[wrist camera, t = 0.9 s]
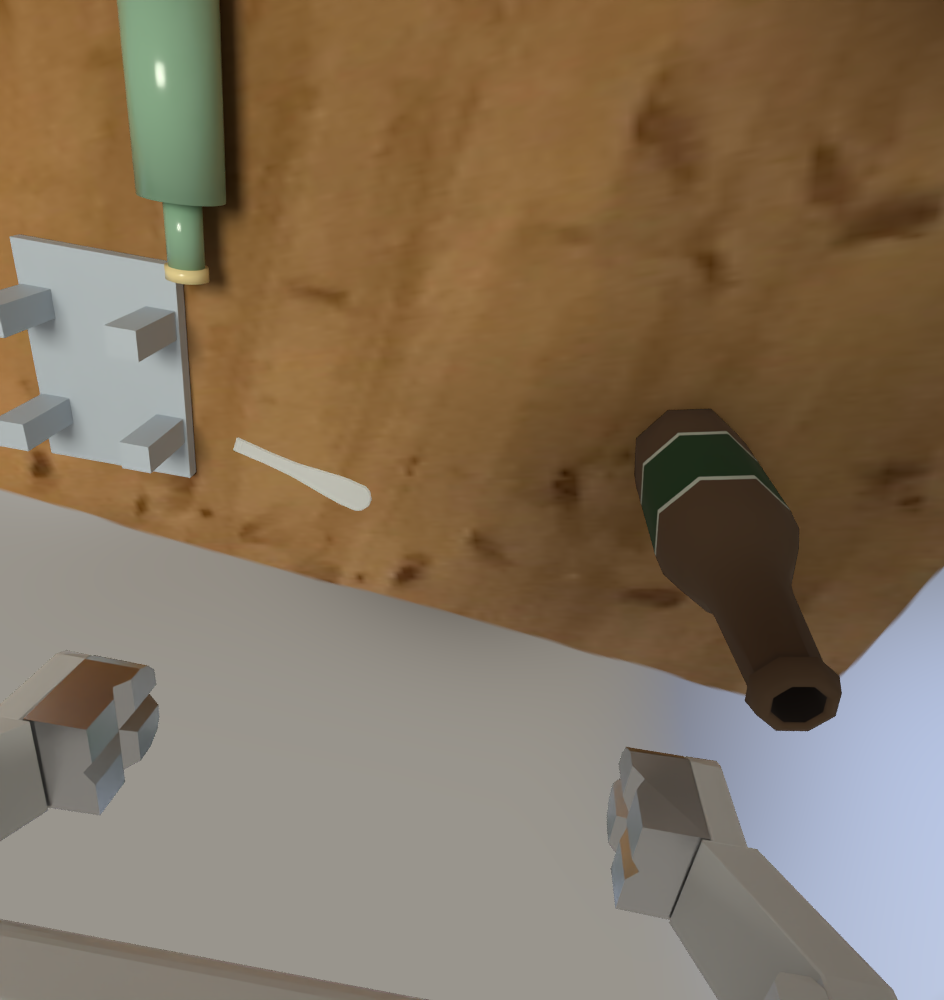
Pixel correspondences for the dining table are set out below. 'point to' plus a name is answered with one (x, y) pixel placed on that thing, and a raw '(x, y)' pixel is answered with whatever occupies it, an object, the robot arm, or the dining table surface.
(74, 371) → the rest
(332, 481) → the butter knife
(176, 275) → the bottle
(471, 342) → the dining table surface
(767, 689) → the beer bottle
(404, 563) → the dining table surface
